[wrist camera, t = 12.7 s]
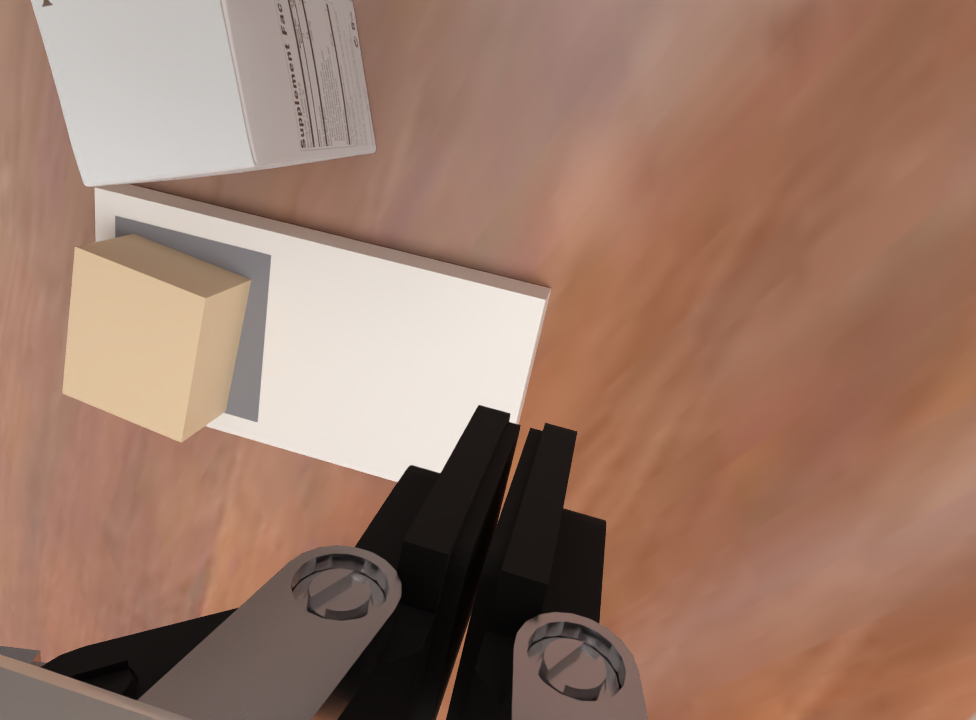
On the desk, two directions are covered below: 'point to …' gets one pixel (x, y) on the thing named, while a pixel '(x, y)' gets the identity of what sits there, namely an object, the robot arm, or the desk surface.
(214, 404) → the kraft carton
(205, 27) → the supplement box
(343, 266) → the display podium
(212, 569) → the desk surface
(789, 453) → the desk surface
